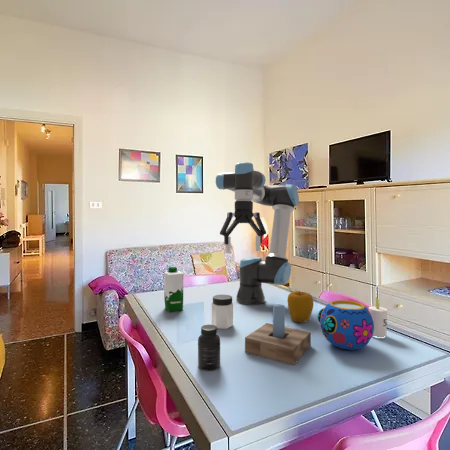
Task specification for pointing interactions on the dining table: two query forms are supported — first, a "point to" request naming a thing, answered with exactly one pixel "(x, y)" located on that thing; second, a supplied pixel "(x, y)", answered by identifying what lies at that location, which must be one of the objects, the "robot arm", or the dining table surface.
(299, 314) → the apple
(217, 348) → the supplement bottle
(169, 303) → the milk carton
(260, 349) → the socket block
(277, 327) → the dowel
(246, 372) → the dining table surface
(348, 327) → the ceramic pot
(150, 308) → the dining table surface
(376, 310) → the candle
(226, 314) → the jar
